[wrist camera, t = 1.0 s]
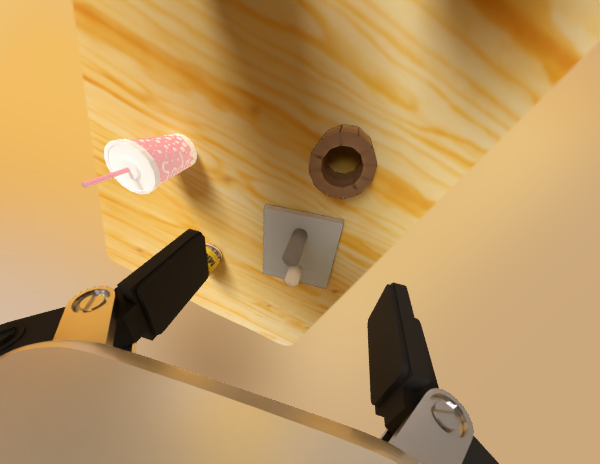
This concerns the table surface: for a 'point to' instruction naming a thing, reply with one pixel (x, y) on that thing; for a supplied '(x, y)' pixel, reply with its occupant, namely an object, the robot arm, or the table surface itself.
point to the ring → (340, 182)
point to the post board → (312, 247)
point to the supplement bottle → (213, 257)
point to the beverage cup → (146, 161)
